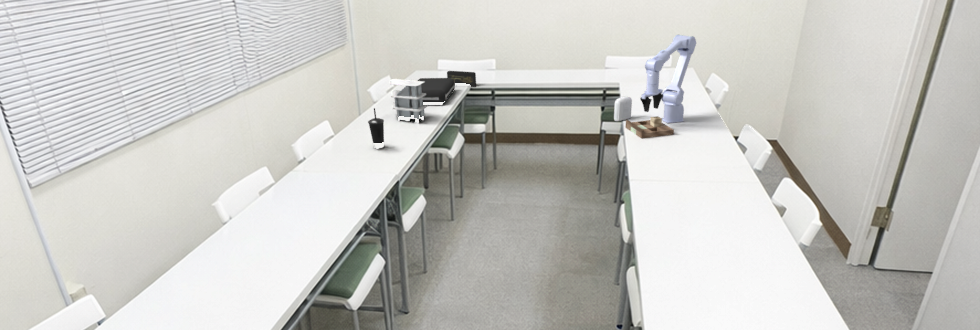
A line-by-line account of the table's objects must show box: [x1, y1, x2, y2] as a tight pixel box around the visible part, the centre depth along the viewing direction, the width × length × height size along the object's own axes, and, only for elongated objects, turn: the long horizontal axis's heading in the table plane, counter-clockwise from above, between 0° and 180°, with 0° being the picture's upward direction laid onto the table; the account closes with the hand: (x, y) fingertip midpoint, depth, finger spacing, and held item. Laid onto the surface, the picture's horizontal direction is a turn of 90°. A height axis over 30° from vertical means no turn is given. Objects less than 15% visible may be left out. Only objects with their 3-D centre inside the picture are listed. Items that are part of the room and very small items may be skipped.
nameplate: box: [446, 70, 477, 88], centre depth 389 cm, size 21×2×10 cm, turn 65°
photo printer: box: [613, 95, 633, 122], centre depth 304 cm, size 10×4×12 cm, turn 123°
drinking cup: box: [367, 107, 385, 144], centre depth 278 cm, size 8×8×20 cm
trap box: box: [625, 119, 675, 139], centre depth 286 cm, size 17×18×4 cm
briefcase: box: [417, 77, 456, 102], centre depth 363 cm, size 36×32×10 cm
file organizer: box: [389, 78, 428, 119], centre depth 319 cm, size 26×35×22 cm
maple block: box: [649, 115, 663, 127], centre depth 285 cm, size 4×4×4 cm
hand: (651, 109), depth 287 cm, fingers open, 7 cm apart
